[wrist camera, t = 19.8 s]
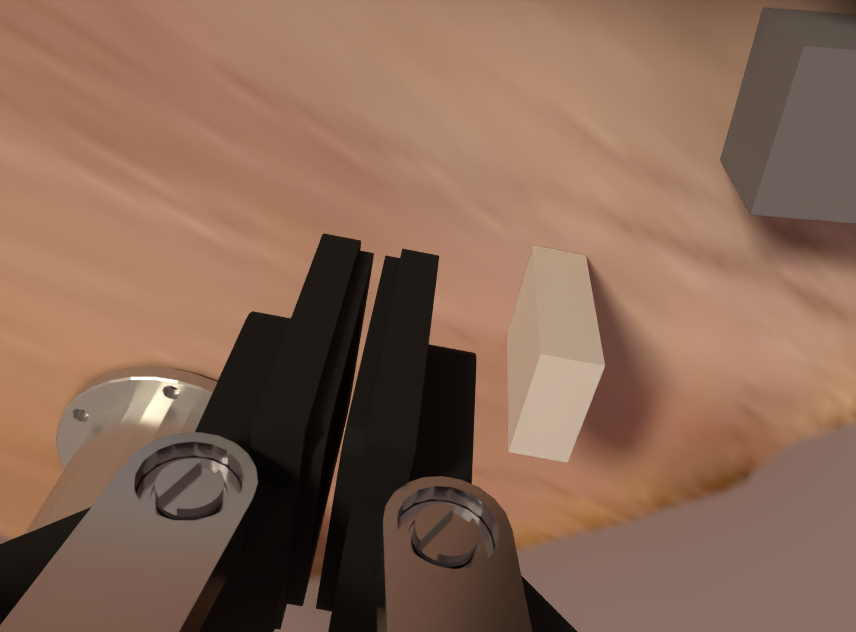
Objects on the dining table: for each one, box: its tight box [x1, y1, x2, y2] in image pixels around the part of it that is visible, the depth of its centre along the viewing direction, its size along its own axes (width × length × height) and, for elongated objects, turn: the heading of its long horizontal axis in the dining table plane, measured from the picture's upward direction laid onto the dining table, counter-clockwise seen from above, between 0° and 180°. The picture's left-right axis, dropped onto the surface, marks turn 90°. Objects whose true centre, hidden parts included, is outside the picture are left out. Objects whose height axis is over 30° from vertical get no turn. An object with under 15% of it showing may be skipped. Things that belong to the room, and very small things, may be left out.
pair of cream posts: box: [507, 245, 605, 463], centre depth 28 cm, size 27×3×8 cm, turn 170°
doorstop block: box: [720, 8, 856, 223], centre depth 29 cm, size 6×7×5 cm
